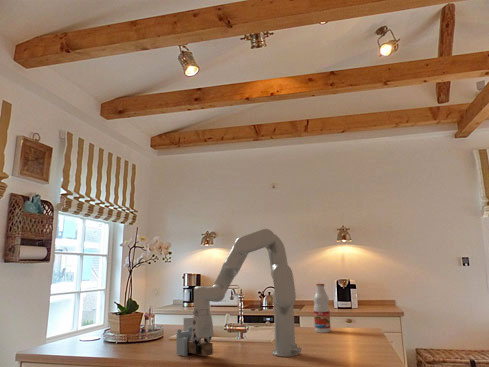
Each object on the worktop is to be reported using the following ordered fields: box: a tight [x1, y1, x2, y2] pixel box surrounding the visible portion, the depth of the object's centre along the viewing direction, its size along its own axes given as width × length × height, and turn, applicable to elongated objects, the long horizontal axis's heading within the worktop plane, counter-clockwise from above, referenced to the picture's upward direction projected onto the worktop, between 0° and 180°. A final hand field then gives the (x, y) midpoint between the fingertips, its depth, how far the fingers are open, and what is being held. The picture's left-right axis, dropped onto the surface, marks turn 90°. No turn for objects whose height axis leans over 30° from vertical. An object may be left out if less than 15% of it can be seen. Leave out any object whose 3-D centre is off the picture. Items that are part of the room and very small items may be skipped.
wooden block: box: [187, 339, 214, 357], centre depth 194 cm, size 16×4×5 cm, turn 48°
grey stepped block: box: [176, 327, 192, 357], centre depth 199 cm, size 6×9×12 cm
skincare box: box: [183, 315, 194, 332], centre depth 216 cm, size 8×6×15 cm
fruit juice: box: [313, 283, 331, 334], centre depth 247 cm, size 9×9×28 cm
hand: (202, 352), depth 191 cm, fingers closed on wooden block, 4 cm apart
